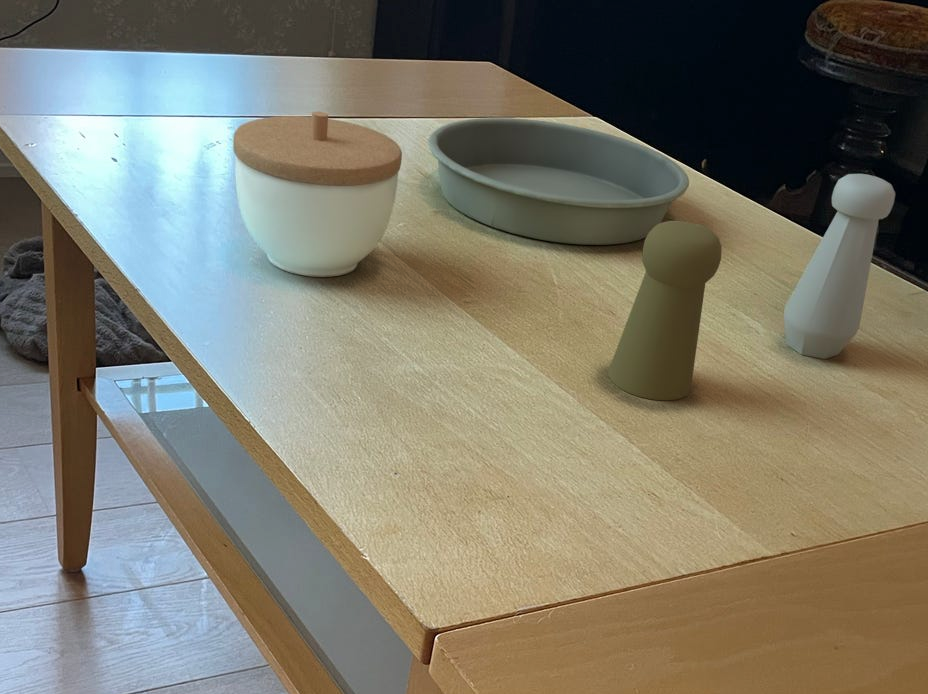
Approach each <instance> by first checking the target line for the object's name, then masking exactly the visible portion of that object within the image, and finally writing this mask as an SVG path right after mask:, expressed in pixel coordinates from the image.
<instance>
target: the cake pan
mask: <svg viewBox="0 0 928 694" xmlns="http://www.w3.org/2000/svg"><path fill="white" fill-rule="evenodd" d="M427 140H428V141H427V143H428V147H429V150H430V152H431V154H432V155H433V157H434V158H435V159H437V165H438V176H439V184H440V185H439V186H440V192H441V195H442V197H443V198H444V199H445V201H446V202H447V203H448V204H449V205H450V206H451V207H453V208H454V209H455V210H457V211H458V212H460V213H461V214H463V215H465V216H466V217H468V218H470V219H472V220H474V221H477V222H479V223H482V224H484V225H486V226H488V227H492V228H494V229H497V230H500V231H504V232H507V233H510V234H514V235H518V236H522V237H526V238H532V239H535V240H541V241H546V242H553V243H561V244H568V245H569V244H570V245H581V246H582V245H583V246H593V245H594V246H609V245H620V244H627V243H632V242H637V241H641V240H643V239H646V237H647V235H648V233H649V232H650V231H651V230H652V229H653V228H654V227H655V226H656V225H657V224H660V223H663V220H664V218H665V217H666V214H667V212H668V210H669V208H670V206H671V204H672V202H674V201H675V200H677V199H679V198H680V197H682V196H683V195H684V194H685V193H686V192H687V190H688V189H689V186H690V180H689V179H690V178H689V176H688V174H687V173H686V171H685V170H684V169H683V168H682V167H681V166H680V165H679V164H678V163H677V162H675V161H674V160H672V159H670V158H669V157H667V156H665V155H664V154H662V153H660V152H658V151H656V150H654V149H652V148H649V147H647V146H644V145H643V144H640V143H637V142H634V141H631V140H629V139H626V138H623V137H620V136H617V135H613V134H609V133H607V132H603V131H598V130H594V129H590V128H586V127H582V126H577V125H571V124H566V123H561V122H560V123H559V122H554V121H553V122H552V121H547V120H546V121H545V120H537V119H528V118H527V119H525V118H511V117H483V118H482V117H479V118H470V119H464V120H463V119H462V120H458V121H454V122H450V123H447V124H444V125H442V126H440V127H438V128H436V129H434V131H432V133H431V134H430V136H429V138H428V139H427Z"/></svg>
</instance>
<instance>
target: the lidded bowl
mask: <svg viewBox="0 0 928 694" xmlns="http://www.w3.org/2000/svg"><path fill="white" fill-rule="evenodd" d="M232 138H233V139H232V142H233V144H232V145H233V146H232V147H233V148H232V149H233V152H234V176H235V177H234V179H235V180H234V181H235V189H236V190H235V191H236V197H237V203H238V207H239V212H240V214H241V217H242V221H243V222H244V225H245V228H246V229H247V232H248V233H249V235H250V236H251V238H252V240H254V242H255V243H256V244H257V245H258V247H259V248H260V249H261V250H262V251H263V252H264V253H265V254H266V255H267V256H266V257H267V260H268V261H269V263H271V264H272V265H273V266H275V267H276V268H278V269H280V270H283V271H286V272H288V273H291V274H295V275H300V276H304V277H305V276H306V277H313V278H327V277H328V278H329V277H339V276H342V275H347V274H349V273H351V272H353V271H354V270H355V269H356V268H357V267H358V263H360V261H362V260H363V259H365V258H367V256H368V255H369V254H371V252H373V251H374V250H375V248H376V247H377V245H378V244H379V243H380V241H381V240H382V239H383V237H384V235H385V233H386V231H387V229H388V226H389V223H390V220H391V218H392V214H393V211H394V210H393V209H394V206H395V201H396V196H397V190H398V189H397V188H398V182H399V181H398V180H399V171H400V170H401V166H402V160H403V151H402V149H401V147H400V146H399V144H398V143H397V142H396V141H395V140H393V139H392V138H390V137H389V136H387V135H386V134H384V133H381V132H379V131H377V130H374V129H372V128H369V127H367V126H363V125H360V124H355V123H353V122H348V121H343V120H338V119H334V118H333V119H332V118H329V113H328V112H325V111H312V112H311V116H304V115H281V116H269V117H263V118H257V119H254V120H250V121H247V122H245V123H242V124H241V125H240V126H238V127H237V129H235V130H234V133H233V137H232Z"/></svg>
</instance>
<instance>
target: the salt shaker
mask: <svg viewBox="0 0 928 694" xmlns="http://www.w3.org/2000/svg"><path fill="white" fill-rule="evenodd" d="M895 198H896V191H895V190H894V187H893V185H892V184H891V183H890V182H888V181H886V180H885V179H883V178H880V177H878V176H876V175H870V174H865V173H848V174H845V175H844V176H843V177H841V178H839V179H838V180H837V181H836V184H835V185H834V188H833V191H832V194H831V207H833V208H834V209H835V211H836V213H835V215H834V217H833V218H832V220H831V222H830V224H829V226H828V228H827V229H826V231H825V233H824V235H823V236H822V239H821V240H820V242H819V244H818V247H817V248H816V249H815V251H814V253H813V255H812V257H811V258H810V261H809V262H808V264H807V265H806V268H805V270H804V272H803V273H802V275H801V277H800V278H799V281H798V283H797V284H796V286H795V288H794V290H793V291H792V293H791V295H790V297H789V299H788V301H787V302H786V304H785V306H784V308H783V309H784V310H783V327H784V336H785V337H784V338H785V344H786V346H788V347H789V348H790V349H793V350H794V351H796V352H797V353H798V354H800V355H801V356H807V357H811V358H816V359H821V360H826V359H829V358H832V357H836V356H838V355H839V354H841V352H842V351H843V350H844V348H845V347H846V346H847V345H848V344H849V343H850V342H851V341H852V339H853V338H854V337H855V336H856V335H857V333H858V331H859V329H860V325H861V320H862V316H863V315H862V314H863V309H864V303H865V297H866V292H867V286H868V281H869V276H870V270H871V264H872V259H873V258H872V257H873V253H874V248H875V243H876V237H877V232H878V225H879V221H880V220H883V219H885V218H888V216H889V214H890V213H891V211H892V209H893V206H894V204H895Z"/></svg>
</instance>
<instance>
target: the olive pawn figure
mask: <svg viewBox="0 0 928 694" xmlns="http://www.w3.org/2000/svg"><path fill="white" fill-rule="evenodd" d="M641 255H642V256H641V257H642V259H641V260H642V265H643V267H644V269H645V272H644V276H643V278H642V280H641V284H640V286H639V288H638V291H637V294H636V296H635V299H634V301H633V304H632V307H631V309H630V313H629V315H628V318H627V320H626V323H625V325H624V328H623V331H622V334H621V336H620V339H619V342H618V344H617V347H616V350H615V352H614V355H613V358H612V360H611V363H610V366H609V368H608V372H607V376H608V378H609V380H610V382H611V383H612V384H613V385H615V386H616V387H617V388H619V389H620V390H623V391H624V392H626V393H628V394H631V395H633V396H636V397H640V398H642V399H643V398H644V399H649V400H654V401H673V400H679V399H682V398H685V397H687V396H688V395H689V394H690V392H691V391H692V384H693V378H694V377H693V376H694V369H695V362H696V354H697V348H698V340H699V334H700V326H701V319H702V311H703V303H704V298H705V297H704V296H705V289H706V284H707V283H708V281H710V280H711V279H713V277H714V276H715V275H716V273H717V271H718V269H719V267H720V265H721V262H722V261H721V260H722V244H721V240H720V238H719V237H718V236H717V234H716V233H714V232H713V230H711V229H709V228H707V227H705V226H703V225H700V224H696V223H693V222H689V221H681V220H667V221H662V222H661V223H660V224H657V225H656V226H655V227H654V228H653V229H652V230H651V231H650V232H649V233H648V235H647V237H646V238H644V242H643V246H642V252H641Z"/></svg>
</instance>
